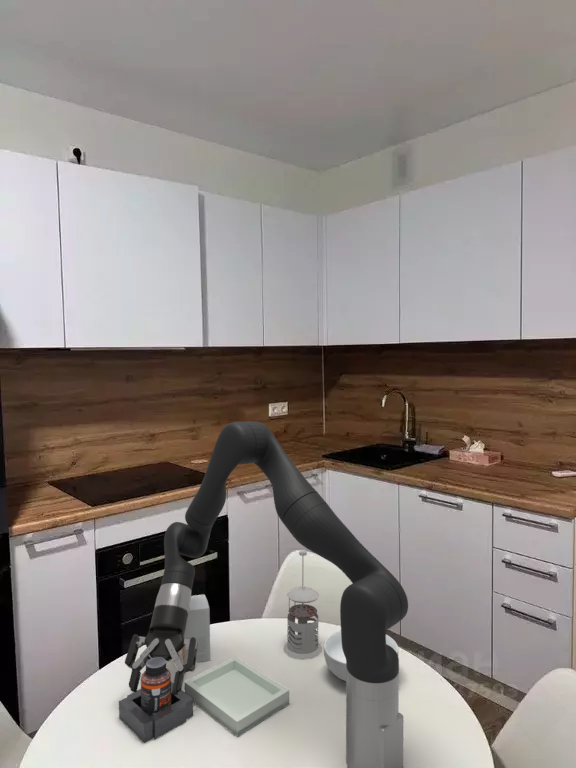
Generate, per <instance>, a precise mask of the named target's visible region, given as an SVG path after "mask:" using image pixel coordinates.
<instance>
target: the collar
mask: <svg viewBox="0 0 576 768" xmlns="http://www.w3.org/2000/svg"><path fill="white" fill-rule="evenodd" d="M173 684H174V682H172V681H171V705H170V706H168V707H167V708H165V709H163V710H161V711H159V712H157V713H155V714H153V715H151V716H149V715H147V714H146V713H145V712H144V711H143V710H142V709H141V688H140V689H137V692H131V693H129V694H127V695H126V697H124V698H123V699H120V700H118V718H119V719H120V721H121V722H122V723H123V724H124V725H126V727H127V728H128V729H129V730H130V731H131V732H132V733H134V735H135V736H137V738H138V739H139V740H140V741H141V742H142V743H143V744H145V743H147V742H149V741H151V740H153V739H154V740H157V739H158V738H160V737H162V736H164V735H166V734H168V733H169V732H171V731H173V730H175V729H176V728H178V727H180V726H182V725H183V724H185V723H187V720H188V719H190V718H193V717H194V702H193V699H192V698H191V697H190V696H189V695H187V694H186V693H185V692H184V690H182V689H181V691H180V692H178V695H174V694H173V693H172V689H173Z"/></svg>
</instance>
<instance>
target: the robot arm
mask: <svg viewBox="0 0 576 768" xmlns="http://www.w3.org/2000/svg"><path fill="white" fill-rule="evenodd" d="M247 464H255V465H256V466H257V468H259V469H260V470H261V472H263V474H264V475H265V476H266V478H267V479H268V481H269V483H270V485H271V487H272V494H273V495H272V497H273V503H274V508H275V512H276V514H277V516H278V518H279V519H280V521H281V522H282V524H283V525H284V526H285V528H286V529H287V530H288V532H289V533H290V534H291V536H292V537H293V538H294V539H295V540H296V542H298V544H300V545H302V546H303V547H304V548H306V549H307V550H309V551H310V552H312V553H314V554H316V555H317V556H319V557H321V558H323V559H324V560H327V561H328V562H329V563H331V564H333V565H334V566H336V567H337V568H338V569H339V570H340V571H341V572H342V573H343V574H344V575H345V576H346V577H347V578H348V579H349V581H350V582H351V584H349V585H348V586H347V587H346V588H345V589H344V590H343V592H342V595H341V598H340V603H339V604H340V606H339V608H340V609H339V611H340V612H339V617H340V630H341V641H342V649H343V652H344V655H345V658H346V681H345V690H346V691H345V701H346V702H345V750H346V751H345V760H346V765H347V768H403V767H404V715H403V714H402V713H401V712H399V708H400V707H399V705H400V704H399V703H400V702H399V699H400V698H399V695H400V694H399V693H400V692H399V691H400V690H399V689H400V688H399V687H400V686H399V685H400V682H399V681H400V672H399V671H400V659H399V653H398V654H397V652H396V651H395V650H394V649H393V648H392V647H391V646H389V645H387V644H386V635H387V631H388V630H389V629H390V628H392V627H394V626H395V625H396V624H398V623H400V622H401V621H402V620H403V619H404V618H405V617H406V616H407V614H408V611H409V601H408V596H407V594H406V591H405V589H404V588H403V586H402V584H401V583H400V581H399V580H398V579H397V578H396V577H395V575H393V574H392V573H391V572H390V570H389V569H387V568H386V567H385V565H383V564H382V563H381V562H380V561H379V560H378V559H377V558H376V557H375V556H374V555H373V554H372V553H371V552H370V551H369V550H368V549H367V548H366V547H365V546H364V545H363V544H362V543H361V542H360V541H359V539H358V538H357V537H356V536H355V535H354V534H353V533H352V531H351V530H350V529H349V528H348V527H347V526H346V525H345V524H344V523H343V522H342V520H341V519H340V518H339V516H337V514H336V512H334V511H333V509H332V508H331V507H330V505H329V504H328V502H326V500H324V498H323V497H322V496H321V494H320V493H319V492H318V491H317V490H316V489H315V488H314V487H313V486H312V485H311V483H310V482H309V481H308V480H307V479H306V477H305V476H304V475H303V474H302V472H301V471H300V470H299V468H298V467H297V466H296V465H295V463H293V461H292V460H291V458H290V457H289V456H288V455H287V453H286V451H285V450H284V448H283V447H282V445H281V443H280V442H279V440H278V439H277V438H276V436H275V435H274V433H273V431H272V430H271V429H270V428H269V427H268V426H267V425H266V424H264V423H262V422H260V421H255V420H254V421H253V420H252V421H249V420H247V421H234V422H229V423H227V424H226V425H225V426H224V427H223V428H222V430H221V431H220V433H219V435H218V437H217V439H216V442H215V444H214V447H213V451H212V453H211V456H210V459H209V462H208V464H207V468H206V471H205V473H204V476H203V479H202V482H201V483H200V486H199V488H198V490H197V492H196V494H195V495H194V497H193V499H192V501H191V503H190V504H189V506H188V507H187V509H186V512H185V514H184V519H185V522H186V523H185V522H180V521H175V522H172V523H171V524H170V525H169V526H168V527H167V529H165V530H166V531H165V533H164V539H163V546H164V547H163V549H164V550H163V551H164V570H163V575H162V579H161V584H160V587H159V590H158V593H157V596H156V599H155V604H154V609H153V613H152V617H151V622H150V626H149V630H148V632H147V635H146V636H141V635H140V636H139V635H138V633H137V634H136V633H134V634H133V635H132V637H131V640H130V643H129V647H128V651H127V653H126V657H125V659H124V665H126V666H127V667H128V668H130V669H131V673H130V677H129V681H128V687H129V689H130V691H131V693H133V692H137V691H138V687H139V683H140V681H141V676H142V672H141V671H142V670H143V668H145V667H146V662H147V661H148V660H150V659H152V658H156V657H161V658H164V659H165V660H166V662H170V661H173V663H174V665H175V667H176V669H177V671H176V672H175V673H174V678H173V679H174V680H173V689H172V693H173V694H174V695H178V692H180V691H181V690H182V689H183V686H184V685H183V684H184V679H185V675H186V674H187V673H189V672H194V671H195V669H196V655H197V646H198V642H197V640H196V639H195V638H194V637H192V638H191V639H184V634H185V629H186V623H187V618H188V613H189V610H190V602H191V596H192V590H193V586H194V579H195V576H196V575H195V574H196V569H195V566H194V565H193V564H191V562H189V561H187V560H185V559H184V558H183V557H182V556H184V557H188V558H192V559H197V558H200V557H201V556H203V555H205V553H206V551H207V550H208V545H209V540H210V535H211V531H212V528H213V527H214V524H215V523H216V520H218V517H219V516H220V514H221V512H222V510H223V508H224V506H225V503H226V499H227V481H228V478H229V477H230V475H231V474H232V473H233V471H234V470H235V469H236V468H237V467H238V466H239V465H247ZM143 645H145V646H146V648H145V649H144V650H143V651H142V652H141V653H140V655H139V657H138V658H137V655H138V652H139V649H141V648H142V647H143ZM184 645H186V648H187V650H188V659H187V664H184V662H183V661H182V658H181V657H180V655H179V652H181V651H182V648H183V647H184Z"/></svg>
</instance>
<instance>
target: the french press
mask: <svg viewBox="0 0 576 768" xmlns="http://www.w3.org/2000/svg"><path fill="white" fill-rule="evenodd" d="M298 555H299V556H301V557H302V562H301V563H302V565H301V566H302V568H301V569H302V575H301V576H302V578H301V579H302V581H301V582H302V585H301V586H295V587H293V588H292V589H290V590H289V591H287V592H286V596H287V599H288V614H287V621H286V622H287V625H286V626H287V631H286V632H287V635H286V636H287V642H286V643H285V644H284V645H283V648H282V649H283V652H284V654H286V655H287V656H288V657H290V658H294V659H295V660H296V659H297V660H309V659H313V658H316V657H318V656H319V655H321V654H322V652H323V647H322V645H321V643H320V642H319V615H318V610H317V608H316V607H315V606H313V605H312V604H311V605H310V603H313V602H316V601H317V600H318V599H319V597H320V593H319V592H318V591H317V590H315V589H314V588H312V587H309V586H305V585H304V557H305V556H307V555H308V553H307V550H305V549H301V550H300V551H299V552H298ZM290 601H292V602H294V605H292V606H290V605H291V603H290ZM297 603H298V604H297ZM314 617H315V618H314ZM296 618H297V622H296ZM309 621H312V622H309ZM296 633H297V634H296Z"/></svg>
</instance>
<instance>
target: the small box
mask: <svg viewBox="0 0 576 768" xmlns="http://www.w3.org/2000/svg"><path fill="white" fill-rule="evenodd" d="M210 612H211V611H210V605H209V602H208V599H207V597H206V595H205V594H198V595H197V594H195V595H191V602H190V610H189V613H188V618H187V623H186V629H185V634H184V639H191V638H192V637H194V638H195V639H196V640H197V642H198V646H197V655H196V662H197V663H203V662H207V661H211V621H210V619H211V617H210ZM181 653H182V658H183V665H184V664H187V659H188V650H187V648H186V645H184V647H183V648H182V649H181Z"/></svg>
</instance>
